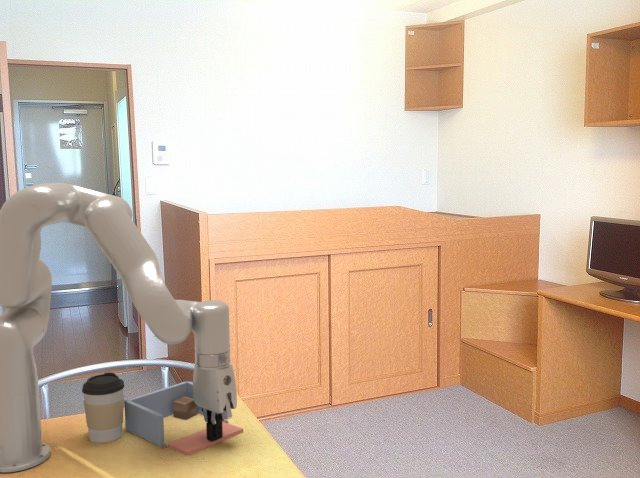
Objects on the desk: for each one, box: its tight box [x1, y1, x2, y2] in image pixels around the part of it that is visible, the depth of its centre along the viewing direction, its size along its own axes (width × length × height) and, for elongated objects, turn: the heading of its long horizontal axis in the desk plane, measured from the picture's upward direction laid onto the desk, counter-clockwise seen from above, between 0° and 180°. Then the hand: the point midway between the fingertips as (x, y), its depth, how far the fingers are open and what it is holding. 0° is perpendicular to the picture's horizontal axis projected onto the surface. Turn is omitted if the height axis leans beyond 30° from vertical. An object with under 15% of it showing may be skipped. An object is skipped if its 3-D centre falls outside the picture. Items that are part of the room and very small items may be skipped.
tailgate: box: [167, 422, 244, 456], centre depth 142 cm, size 16×1×7 cm
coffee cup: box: [81, 371, 125, 444], centre depth 144 cm, size 9×9×15 cm
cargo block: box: [172, 396, 198, 421], centre depth 156 cm, size 4×4×4 cm
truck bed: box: [124, 380, 229, 449], centre depth 149 cm, size 18×15×8 cm
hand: (214, 438), depth 140 cm, fingers closed
